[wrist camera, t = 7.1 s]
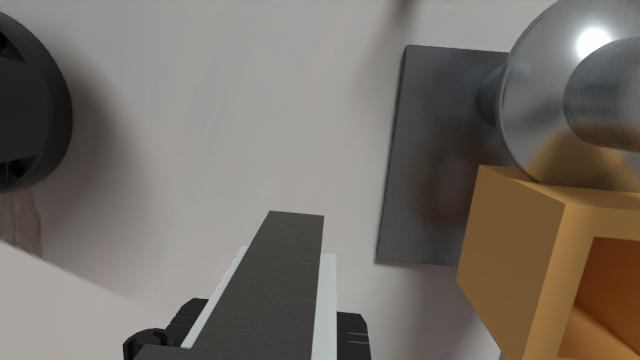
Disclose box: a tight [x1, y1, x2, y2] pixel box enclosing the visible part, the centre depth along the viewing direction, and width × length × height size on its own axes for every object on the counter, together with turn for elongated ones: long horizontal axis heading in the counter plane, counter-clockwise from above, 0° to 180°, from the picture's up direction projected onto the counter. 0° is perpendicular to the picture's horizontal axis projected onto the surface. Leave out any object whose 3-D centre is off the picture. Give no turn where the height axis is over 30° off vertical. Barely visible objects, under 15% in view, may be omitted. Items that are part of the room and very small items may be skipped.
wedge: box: [133, 211, 324, 360], centre depth 12 cm, size 3×8×14 cm, turn 175°
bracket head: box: [456, 164, 640, 360], centre depth 19 cm, size 7×18×8 cm, turn 175°
